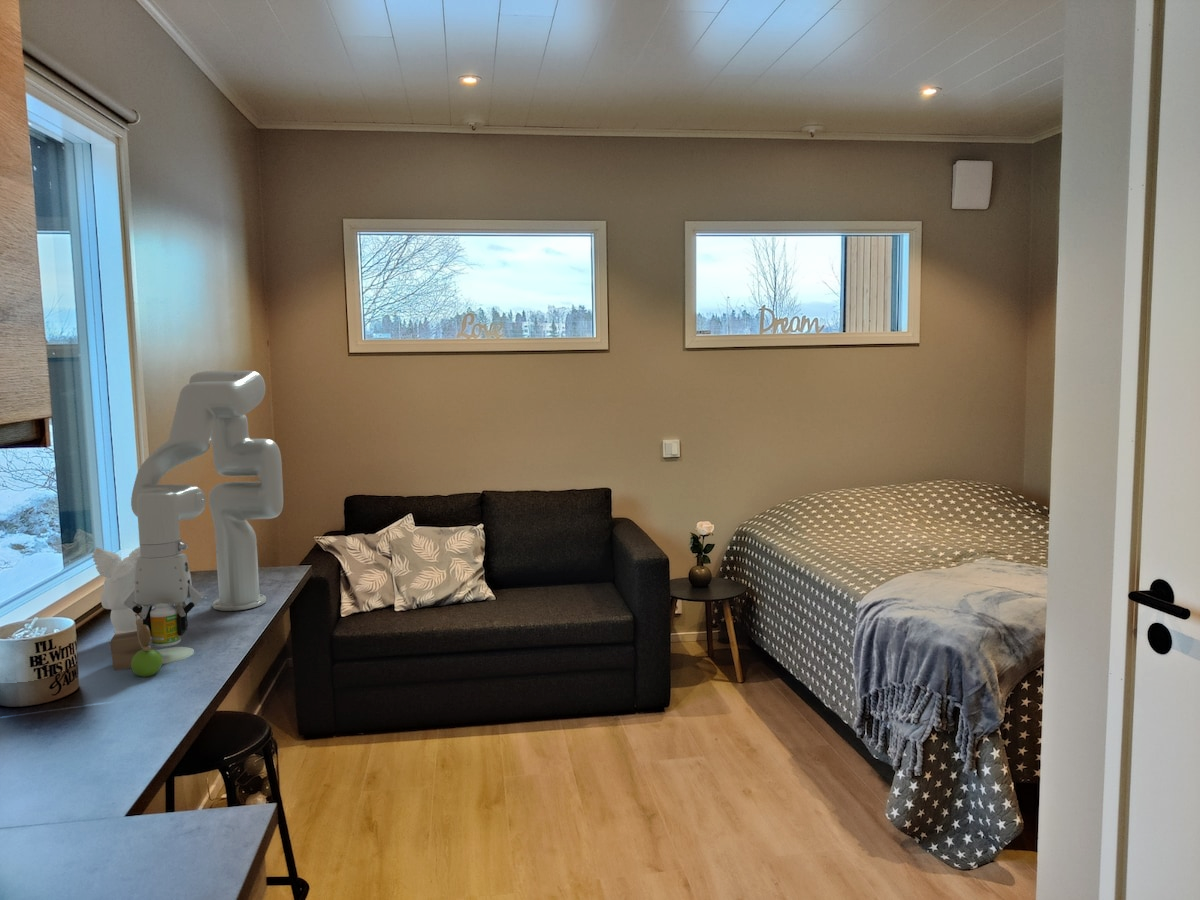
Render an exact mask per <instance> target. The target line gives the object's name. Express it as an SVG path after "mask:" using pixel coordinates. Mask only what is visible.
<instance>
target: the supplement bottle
mask: <svg viewBox="0 0 1200 900" xmlns="http://www.w3.org/2000/svg"><path fill="white" fill-rule="evenodd" d="M153 607H154V608H152V610H151V612H150V621H151V635H152V638H151V645H152V646H154V647H155V648H156V647H158V648H166V647H172V646H175V645H177V644H179V643H181V640H182V636H179V635H178V630H177V617H178V616H179V613H178V611H177V609H176V607H175V604H162V603H160V604H156V605H153Z"/></svg>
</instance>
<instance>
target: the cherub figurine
mask: <svg viewBox="0 0 1200 900" xmlns="http://www.w3.org/2000/svg"><path fill="white" fill-rule="evenodd" d="M92 553H93V554H92V555H91V558H93V562H94V565H95V566H96V567H95V569H96V571H97V572H98V574H99V575H100V576H102V577H104V578H105V579H104V581H103V588H102V592H101V596H100V600H101V601H100V602H101V603H100V604H101V606H102V607H103V608H104V609H105V610H111V611H110V618H109V619H110V621H111V622H110V623H111V626H113V628H114V630H113V634H114V635H115V634H120V633H127V632H134V631H137V625H136V620H138V619H140V616H139V615H138V616H137V619H136V616H135V614H136V613H135V612H133V610H132V609H130V608H128V607H127V606H126V605H124V601H125V600H126V599H127V598H128V597H129V596H130V594H131V593H132V592H133V591H134V590H135V570H136V563H137V558H138V557H140V546H139V547H137V548H135V549H134V550H132V551H131V552H130V553H129V554H128V556H127V557H124V558H123V559H122V558H121V557H120V556H119V554H117V553H115V552H113V551H110V550H104V549H102V548H100V547H98V546H97V547H96V548H95V549H94V550H92ZM135 602H136V601H135ZM141 606H142V605H141ZM142 607H143V606H142ZM142 620H143V619H142ZM112 638H113V637H111V638H110V641H111V640H112ZM151 639H152V636H151Z"/></svg>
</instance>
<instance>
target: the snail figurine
mask: <svg viewBox="0 0 1200 900" xmlns="http://www.w3.org/2000/svg"><path fill="white" fill-rule="evenodd" d="M141 614H142V613H139V615H141ZM135 616H136V619H137V616H138V614H137V613H136V614H135ZM136 625H137V635H138V640H139V644H140V646H141V648H142V650H140V651H138V652H137V653H136V654H135V655H134V656H133V658H132V661H131V668H130V669H131V670H132V672H133V673H134V675H136V676H138V677H143V678H145V677H151V676H153V675H156V673H158V672H159V670H160V669H161V667H162V666H163V664H162V656H161V654H160V653H159V652H158V651H156V650H157V649H154V648H152V647H151V646H150V645H151V644H150V643H151V642H152V638H151V634H150V629H149V627H148V626H147V625H143V620H142V619H141V617H140V619H138V620H136Z"/></svg>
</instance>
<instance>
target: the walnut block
mask: <svg viewBox="0 0 1200 900" xmlns="http://www.w3.org/2000/svg"><path fill="white" fill-rule="evenodd" d="M111 639H112V640H111ZM111 639H110V641H109V645H110V653H111V660H112V668H113V671H119V670H120V671H121V670H127V669H132V668H131V661H132V658H133V656H134V655H135V654H136V653H137V652H138V651H140V650H142V648H141V646H140V644H139V640H138V635H137V631H134V632H127V633H120V634H114V635H113V638H112V637H111Z"/></svg>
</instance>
